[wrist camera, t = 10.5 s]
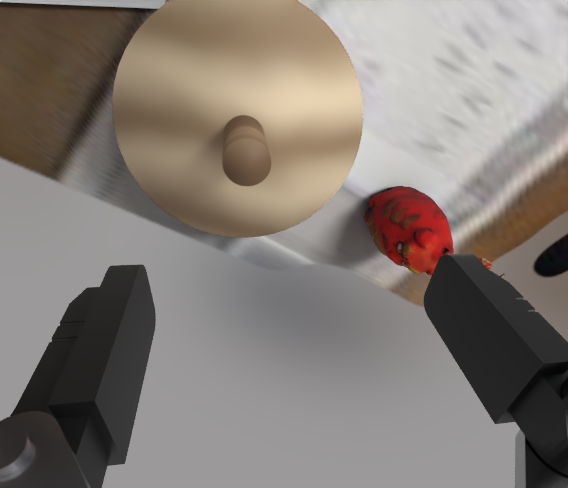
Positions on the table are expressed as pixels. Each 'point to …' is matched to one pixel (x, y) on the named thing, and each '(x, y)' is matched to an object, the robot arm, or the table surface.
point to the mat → (99, 3)
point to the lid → (237, 113)
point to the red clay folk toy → (410, 229)
